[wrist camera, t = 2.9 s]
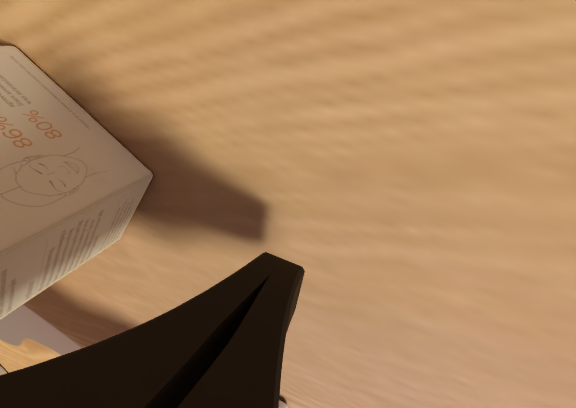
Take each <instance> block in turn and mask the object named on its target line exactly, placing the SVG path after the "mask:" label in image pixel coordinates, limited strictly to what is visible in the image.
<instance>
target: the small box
mask: <svg viewBox="0 0 576 408" xmlns="http://www.w3.org/2000/svg"><path fill="white" fill-rule="evenodd" d="M152 177H153V174H152V172H151V171H150V170H148V169H147V168H146V167H145V166H144V165H143V164H142V163H141V162H140V161H139V160H137V159H136V158H135V157H134V156H133V155H132V154H131V153H130V152H129V151H128V150H127V149H126V148H125V147H123V146H122V145H121V144H120V143H119V142H118V141H117V140H116V139H115V138H114V137H113V136H112V135H111V134H110V133H108V132H107V131H106V130H105V129H104V128H103V127H102V126H101V125H100V124H99V123H98V122H97V121H95V120H94V119H93V118H92V117H91V116H90V115H89V114H88V113H87V112H86V111H85V110H84V109H83V108H82V107H80V106H79V105H78V104H77V103H76V102H75V101H74V100H73V99H72V98H71V97H70V96H69V95H67V94H66V93H65V92H64V91H63V90H62V89H61V88H60V87H59V86H58V85H57V84H56V83H54V82H53V81H52V80H51V79H50V78H49V77H48V76H47V75H46V74H45V73H44V72H43V71H41V70H40V69H39V68H38V67H37V66H36V65H35V64H34V63H33V62H32V61H30V60H29V59H28V58H27V57H26V56H25V55H24V54H23V53H22V52H21V51H20V50H19V49H18V48H16V47H14V46H0V320H1V319H2V318H4V317H5V316H7V315H8V314H10V313H11V312H13V311H14V310H15V309H17V308H18V307H20V306H21V305H23V304H24V303H26V302H27V301H29V300H30V299H32V298H33V297H35V296H36V295H38V294H39V293H41V292H42V291H44V290H45V289H46V288H48V287H49V286H51V285H52V284H54V283H55V282H57V281H58V280H60V279H61V278H63V277H64V276H66V275H68V274H69V273H71V272H72V271H74V270H75V269H77V268H78V267H80V266H81V265H83V264H84V263H85V262H87V261H88V260H90V259H91V258H93V257H94V256H96V255H97V254H99V253H100V252H102V251H103V250H105V249H106V248H108V247H109V246H111V245H112V244H114V243H115V242H116V241H118V240H119V239H120V238H121V237H122V235H123V233H124V231H125V229H126V227H127V225H128V224H129V222H130V220H131V218H132V216H133V214H134V212H135V210H136V208H137V206H138V205H139V203H140V201H141V199H142V197H143V195H144V193H145V191H146V189H147V187H148V185H149V183H150V181H151V179H152Z"/></svg>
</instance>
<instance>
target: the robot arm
mask: <svg viewBox="0 0 576 408" xmlns="http://www.w3.org/2000/svg"><path fill="white" fill-rule="evenodd" d="M304 272H305V271H304V269H303V267H301V266H299V265H296V264H294V263H291V262H289V261H286V260H284V259H282V258H279V257H277V256H274V255H272V254H269V253H267V252H265V253H262V254H261V255H260V256H258V257H257V258H255V259H254V260H253V261H251V262H250V263H248V264H247V265H245V266H244V267H242V268H241V269H239V270H238V271H236V272H235V273H233V274H232V275H230V276H229V277H227V278H226V279H224V280H222V281H221V282H219V283H218V284H216V285H214V286H213V287H211V288H210V289H208V290H206V291H205V292H203V293H201V294H199V295H198V296H196V297H194V298H192V299H190V300H189V301H187V302H185V303H183V304H181V305H180V306H178V307H176V308H174V309H172V310H170V311H168V312H166V313H164V314H162V315H160V316H158V317H156V318H154V319H152V320H150V321H147V322H145V323H143V324H141V325H139V326H137V327H134V328H132V329H130V330H127V331H125V332H123V333H120V334H118V335H115V336H113V337H111V338H108V339H106V340H103V341H101V342H98V343H96V344H93V345H90V346H88V347H85V348H82V349H80V350H77V351H74V352H71V353H68V354H65V355H62V356H59V357H56V358H54V359H51V360H48V361H45V362H42V363H39V364H36V365H33V366H30V367H27V368H24V369H20V370H17V371H13V372H10V373H6V374H3V375H0V408H288V406H287V405H286V404H285V403H284V402H282V401H280V400H279V393H280V380H281V369H282V360H283V352H284V344H285V337H286V332H287V330H288V327H289V324H290V321H291V319H292V316H293V314H294V311H295V308H296V304H297V300H298V296H299V292H300V288H301V284H302V280H303V276H304Z"/></svg>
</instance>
